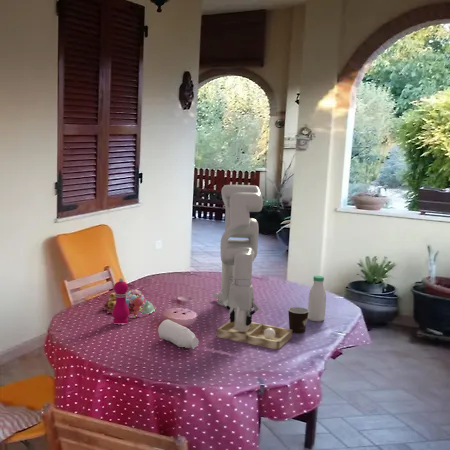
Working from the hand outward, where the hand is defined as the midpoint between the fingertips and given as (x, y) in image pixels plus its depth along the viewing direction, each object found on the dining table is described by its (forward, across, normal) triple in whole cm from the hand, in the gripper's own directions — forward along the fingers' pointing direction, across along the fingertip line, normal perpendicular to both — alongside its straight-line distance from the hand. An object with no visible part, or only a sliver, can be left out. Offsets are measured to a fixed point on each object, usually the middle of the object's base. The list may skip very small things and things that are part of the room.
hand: (240, 322), depth 244 cm
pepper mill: (+6, -50, -13) cm, 52 cm away
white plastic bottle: (+6, -17, -21) cm, 27 cm away
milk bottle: (+6, +22, +37) cm, 43 cm away
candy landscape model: (+6, -57, +5) cm, 58 cm away
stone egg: (+5, +13, 0) cm, 14 cm away
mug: (+3, 0, 0) cm, 3 cm away
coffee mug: (+6, +21, +17) cm, 27 cm away
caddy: (+5, +7, 0) cm, 9 cm away
